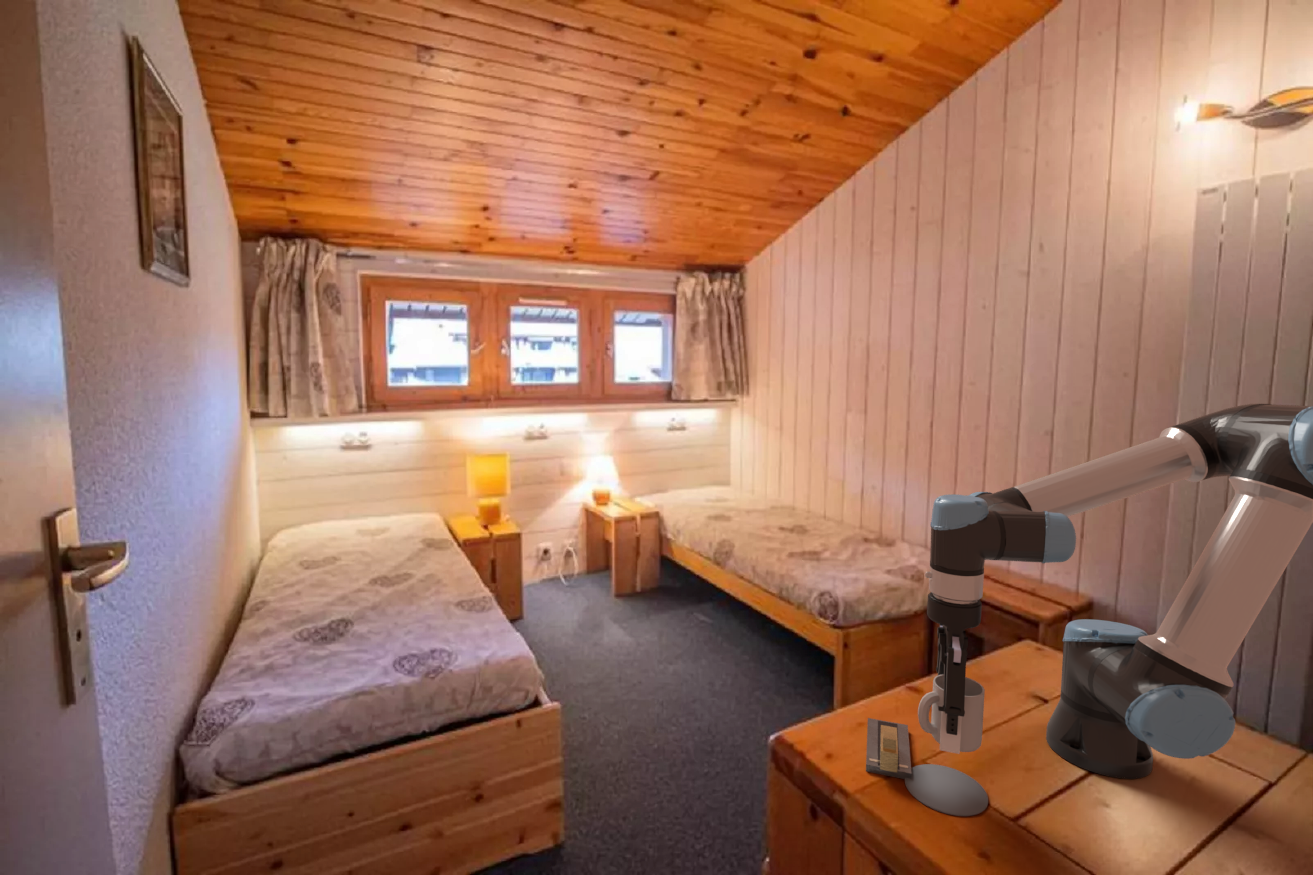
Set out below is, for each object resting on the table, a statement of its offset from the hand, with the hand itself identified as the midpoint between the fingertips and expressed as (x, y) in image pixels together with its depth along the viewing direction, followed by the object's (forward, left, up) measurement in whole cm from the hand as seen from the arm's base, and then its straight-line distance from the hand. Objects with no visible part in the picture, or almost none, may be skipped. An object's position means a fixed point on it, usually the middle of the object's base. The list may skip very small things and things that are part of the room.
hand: (946, 736), depth 97 cm
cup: (0, +1, 0) cm, 1 cm away
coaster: (0, 0, -9) cm, 9 cm away
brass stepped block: (+8, -3, -7) cm, 12 cm away
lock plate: (+8, -8, -9) cm, 15 cm away
